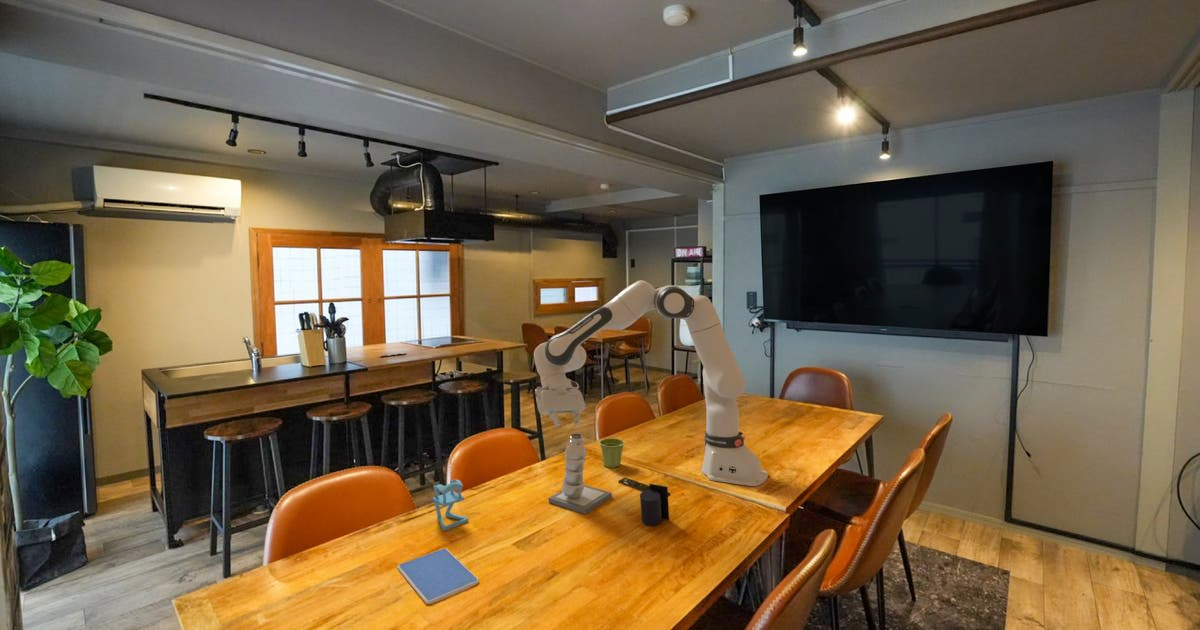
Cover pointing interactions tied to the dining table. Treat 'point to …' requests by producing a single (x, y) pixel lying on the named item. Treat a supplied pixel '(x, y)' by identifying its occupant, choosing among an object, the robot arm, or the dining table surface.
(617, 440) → the plant pot
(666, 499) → the speaker
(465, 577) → the tablet computer
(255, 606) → the dining table surface
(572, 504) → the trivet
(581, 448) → the plastic bottle
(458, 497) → the chair
